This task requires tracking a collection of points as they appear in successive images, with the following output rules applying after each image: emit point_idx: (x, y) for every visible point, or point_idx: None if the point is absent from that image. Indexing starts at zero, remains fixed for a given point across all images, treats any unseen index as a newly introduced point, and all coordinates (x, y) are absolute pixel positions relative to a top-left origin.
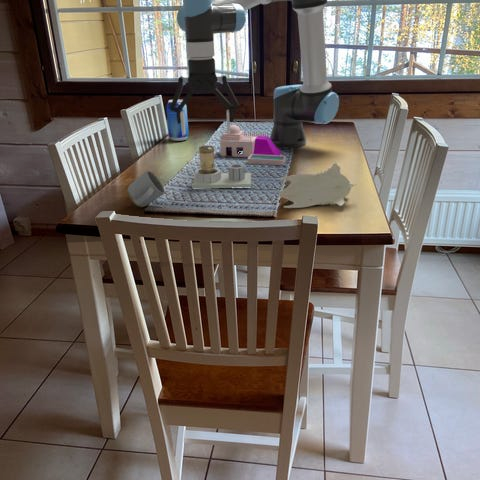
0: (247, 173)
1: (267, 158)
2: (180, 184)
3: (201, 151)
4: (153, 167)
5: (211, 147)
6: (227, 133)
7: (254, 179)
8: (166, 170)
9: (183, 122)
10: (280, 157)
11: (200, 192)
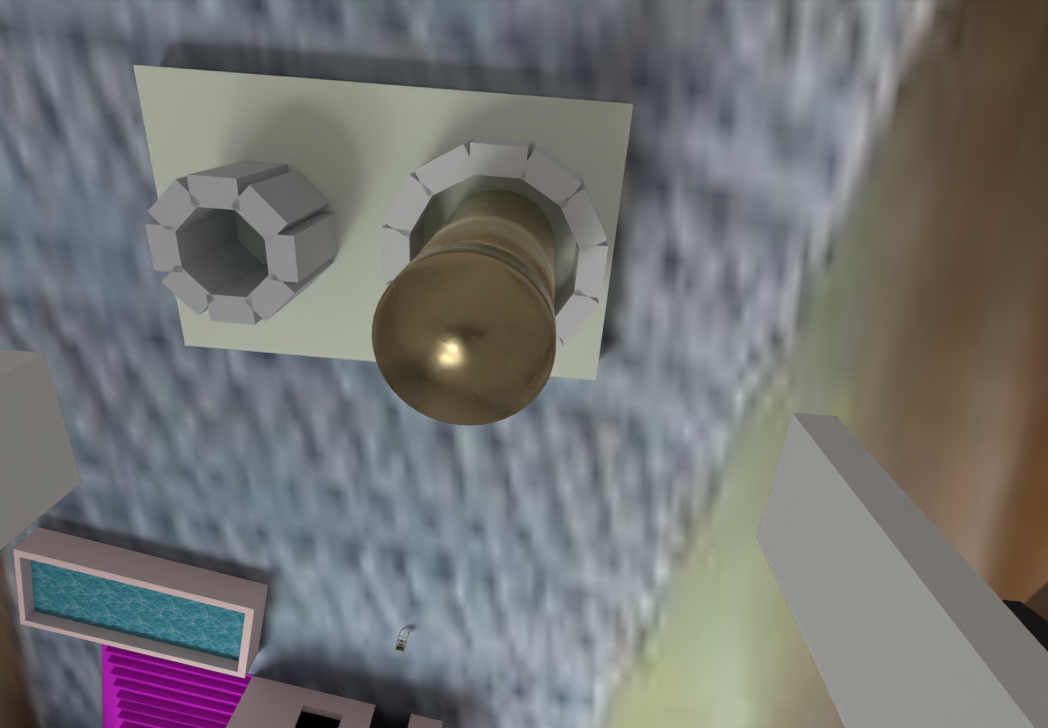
0: (208, 332)
1: (139, 616)
2: (714, 244)
3: (526, 271)
4: None
5: (399, 340)
6: (38, 355)
7: None
8: None
9: (916, 575)
10: (61, 619)
11: (562, 22)
